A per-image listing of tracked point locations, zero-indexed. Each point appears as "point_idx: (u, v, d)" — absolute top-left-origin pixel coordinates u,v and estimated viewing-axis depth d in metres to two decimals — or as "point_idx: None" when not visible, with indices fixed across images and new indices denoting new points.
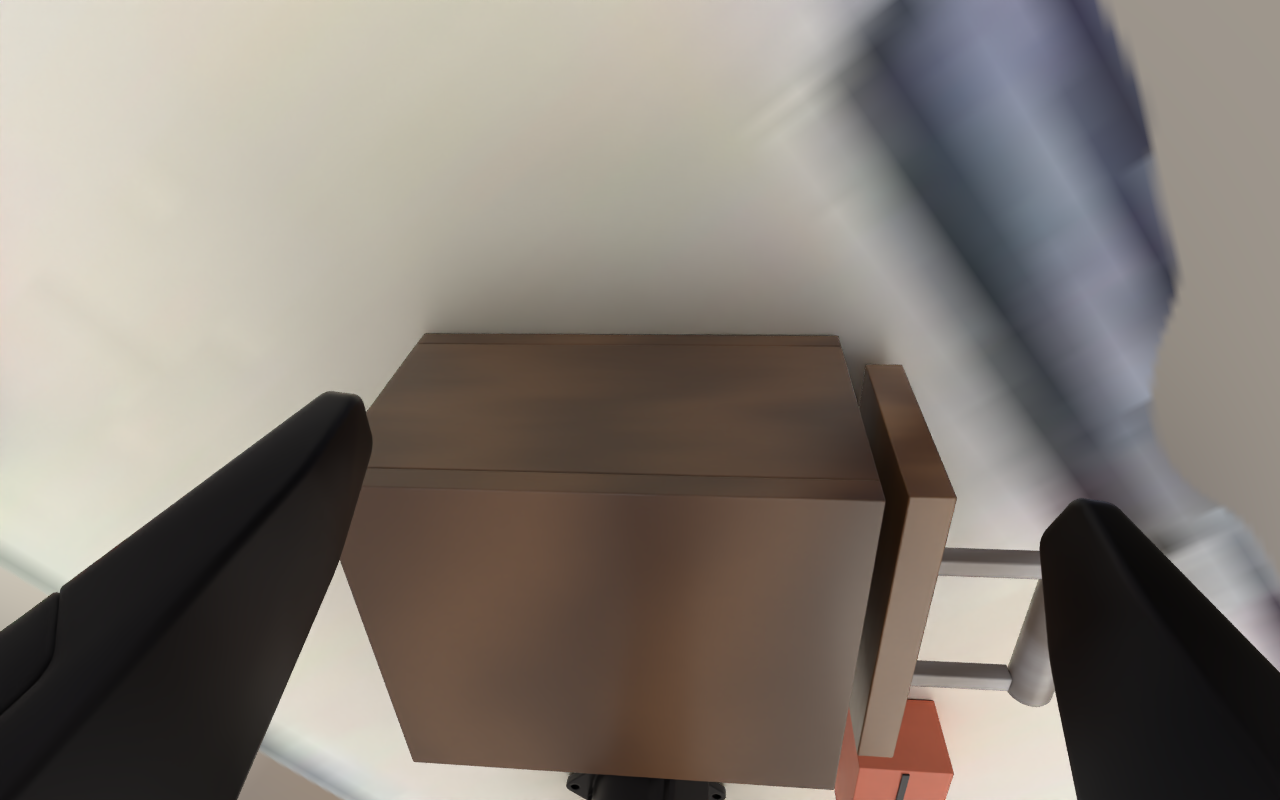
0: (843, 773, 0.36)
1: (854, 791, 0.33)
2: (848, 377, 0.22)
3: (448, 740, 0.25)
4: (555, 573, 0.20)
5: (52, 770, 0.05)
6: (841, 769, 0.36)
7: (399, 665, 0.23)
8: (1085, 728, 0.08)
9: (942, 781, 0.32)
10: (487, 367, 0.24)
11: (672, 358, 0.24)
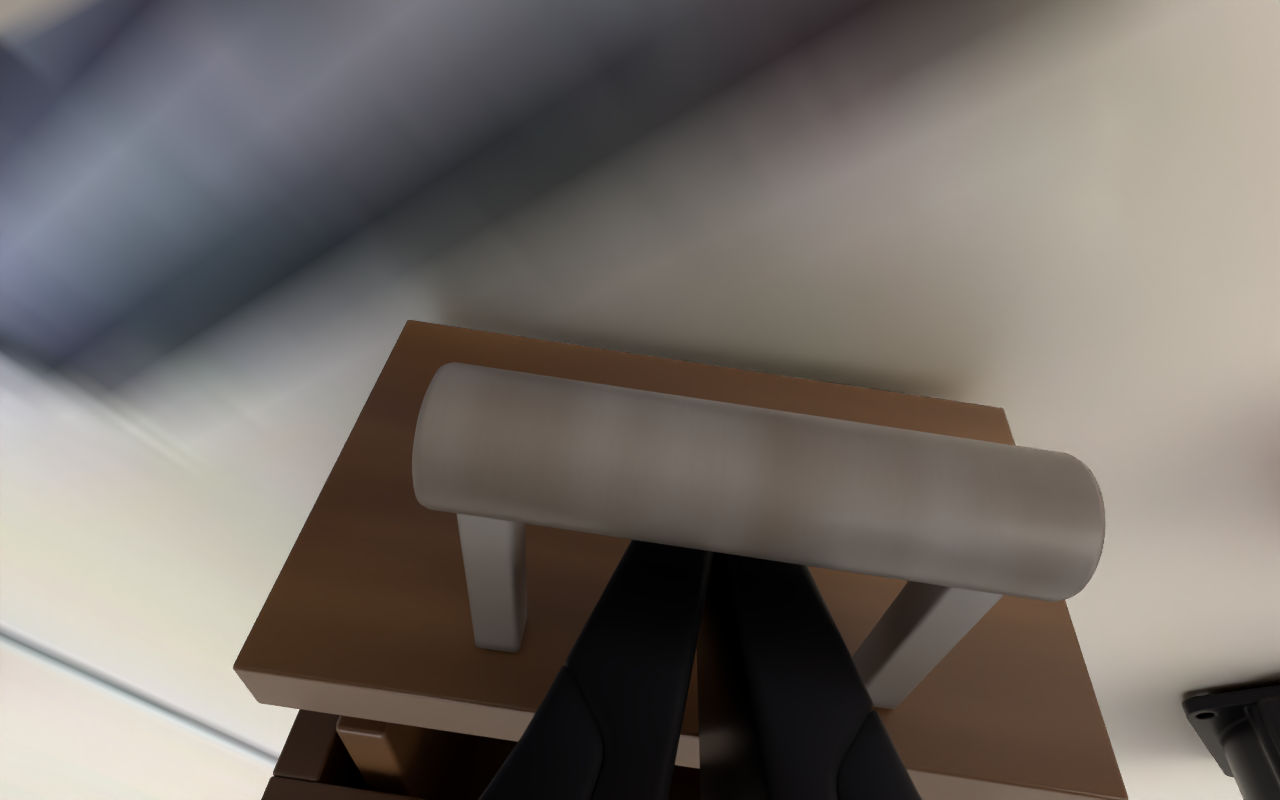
0: None
1: None
2: None
3: None
4: None
5: None
6: None
7: None
8: (703, 673, 0.08)
9: None
10: None
11: None
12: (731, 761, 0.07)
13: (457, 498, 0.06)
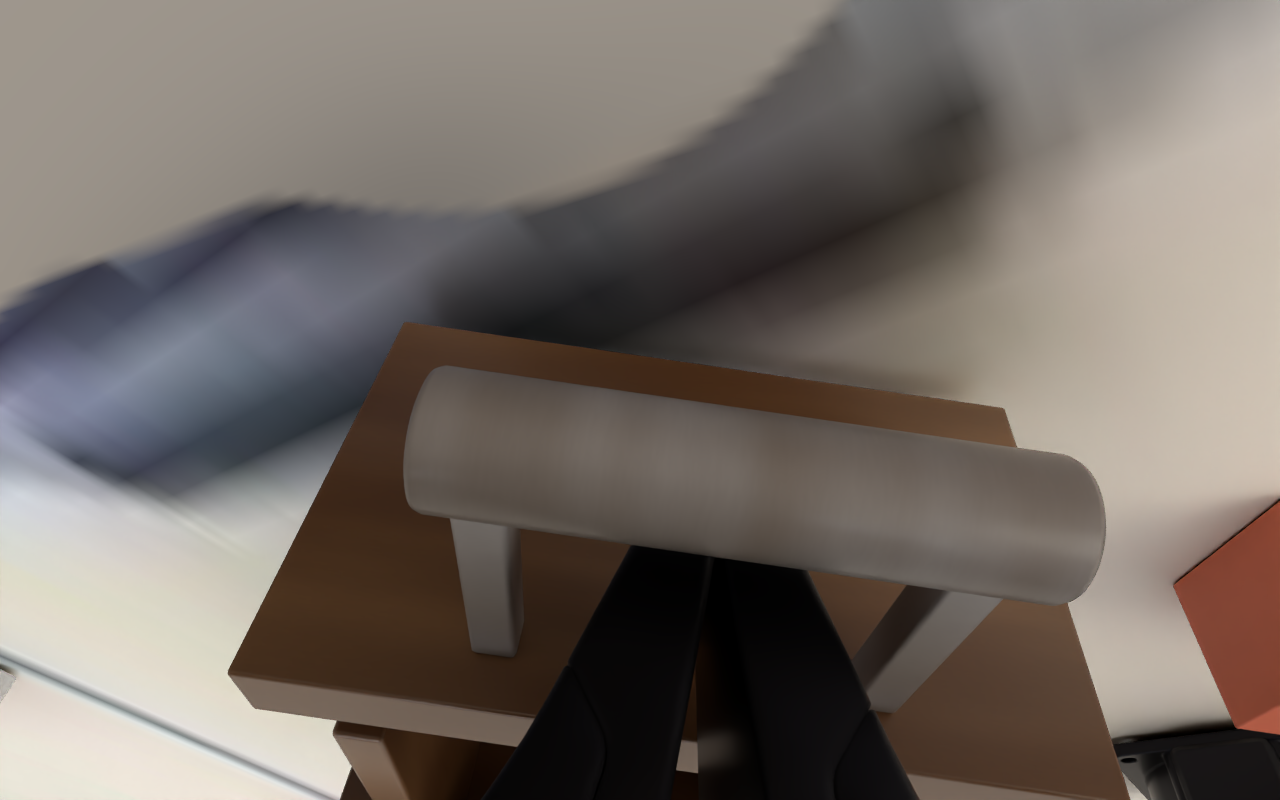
0: None
1: None
2: None
3: None
4: None
5: None
6: None
7: None
8: (701, 673, 0.08)
9: None
10: None
11: None
12: (729, 761, 0.07)
13: (449, 503, 0.06)
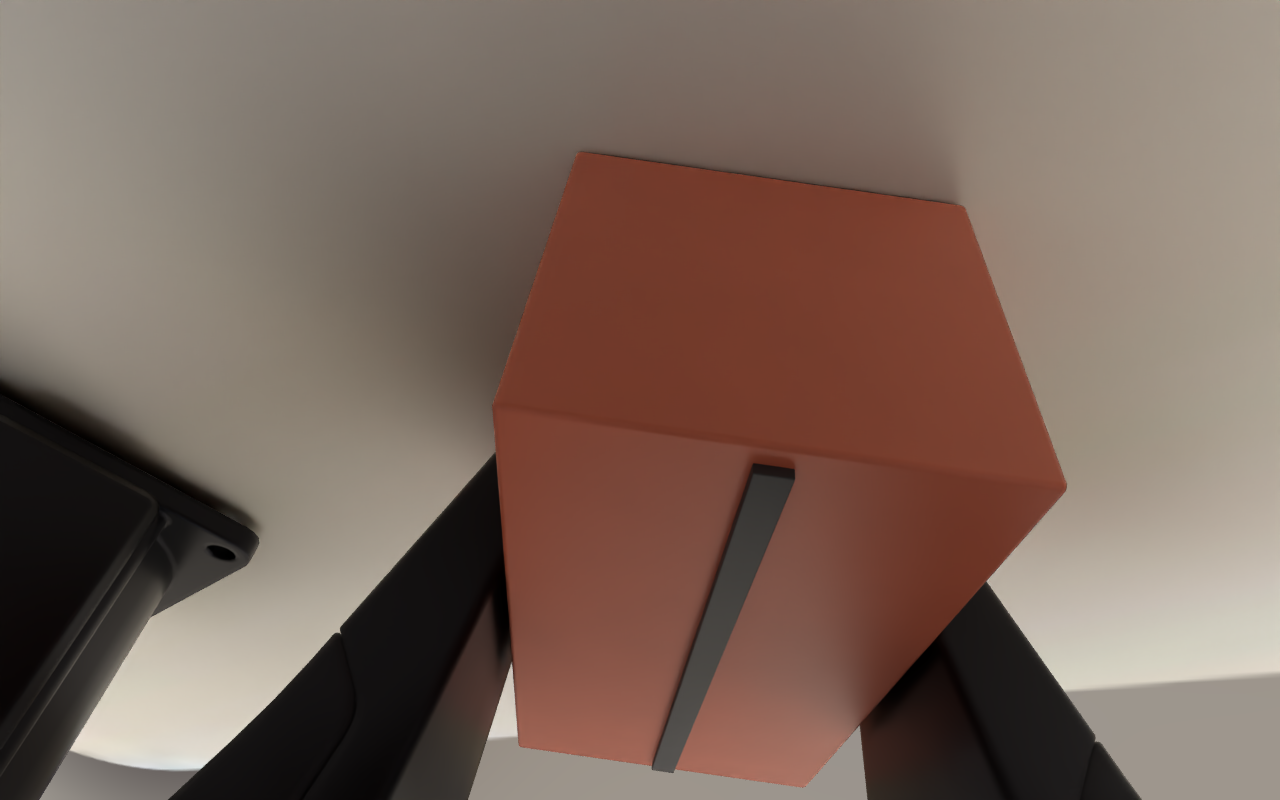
0: None
1: (505, 550, 0.06)
2: None
3: None
4: None
5: None
6: None
7: None
8: None
9: (976, 530, 0.05)
10: None
11: None
12: (936, 790, 0.07)
13: None
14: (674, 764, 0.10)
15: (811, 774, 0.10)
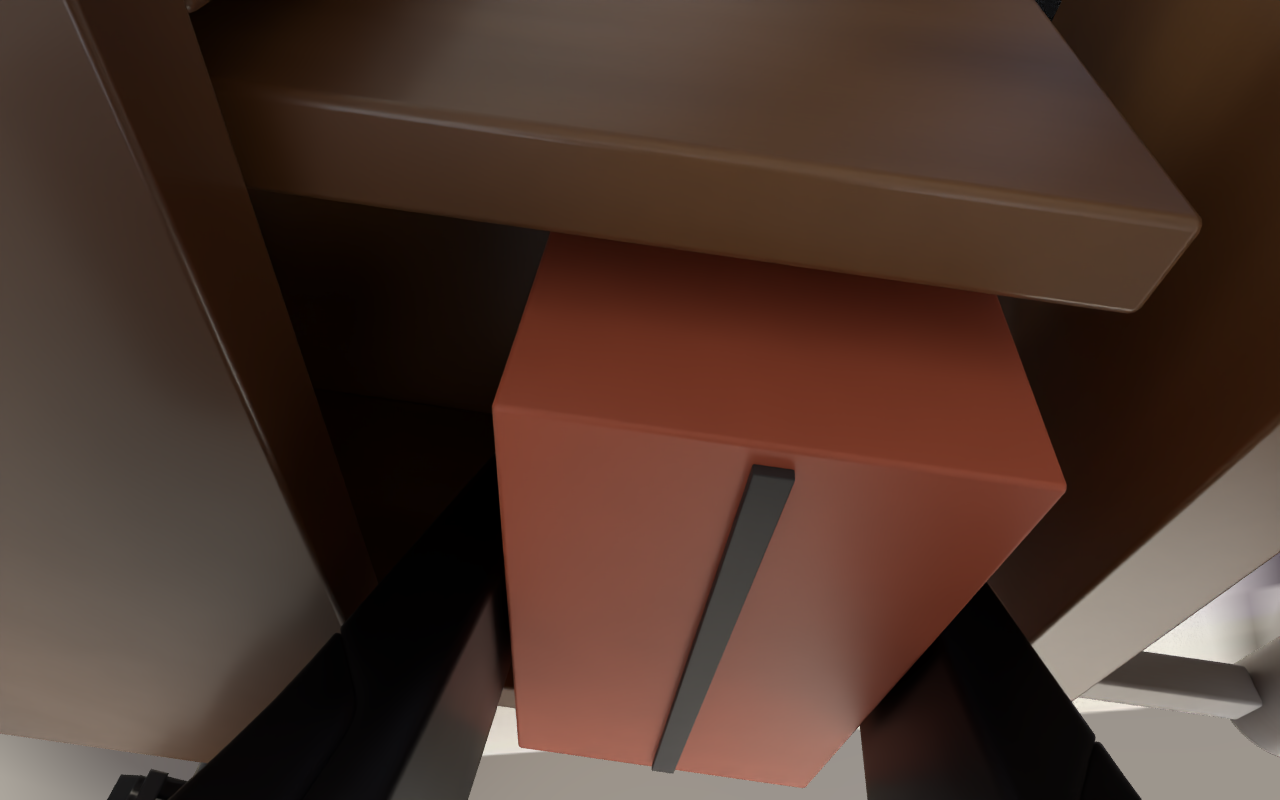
0: None
1: (505, 551, 0.06)
2: None
3: None
4: None
5: None
6: None
7: None
8: None
9: (976, 531, 0.05)
10: None
11: None
12: (936, 790, 0.07)
13: None
14: (674, 765, 0.10)
15: (811, 775, 0.10)
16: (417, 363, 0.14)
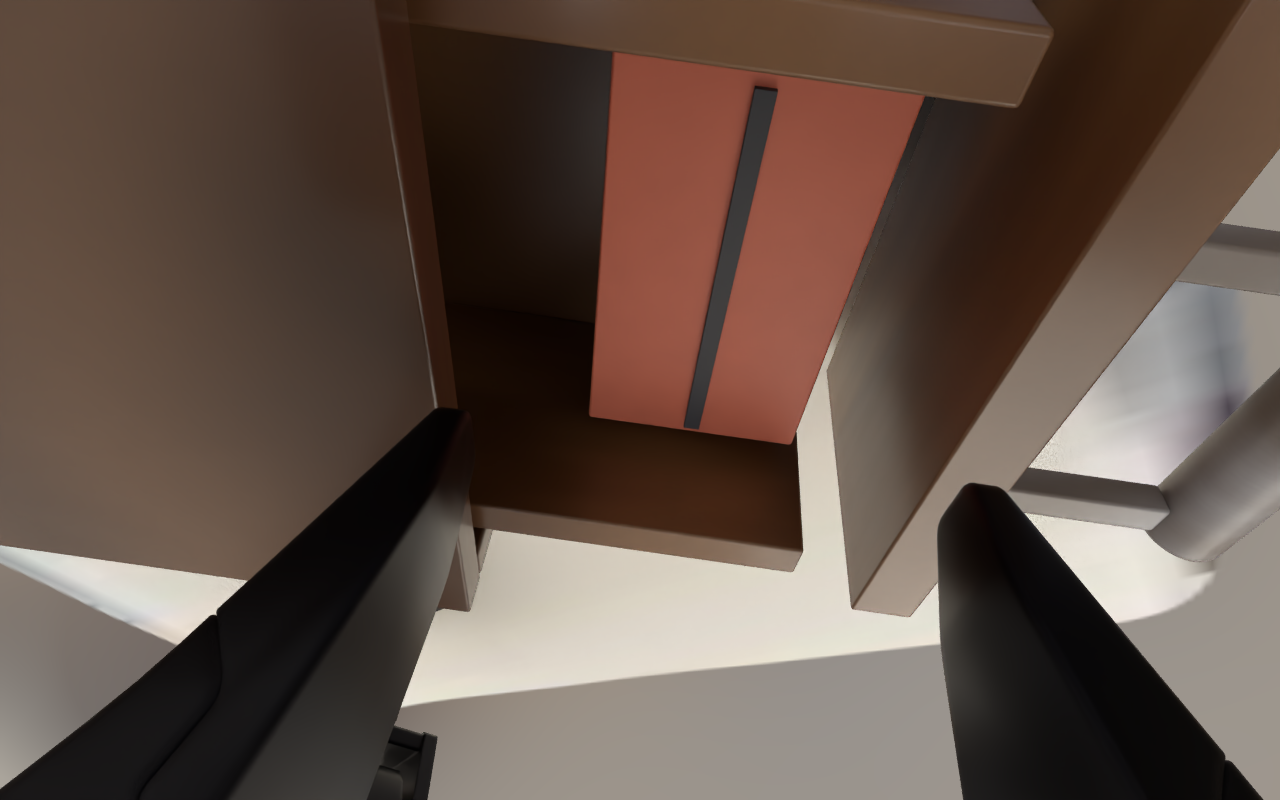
0: None
1: (604, 185, 0.11)
2: None
3: None
4: None
5: (238, 797, 0.05)
6: None
7: None
8: (967, 711, 0.08)
9: (880, 135, 0.10)
10: None
11: None
12: None
13: None
14: (699, 417, 0.14)
15: (795, 424, 0.14)
16: (462, 265, 0.16)
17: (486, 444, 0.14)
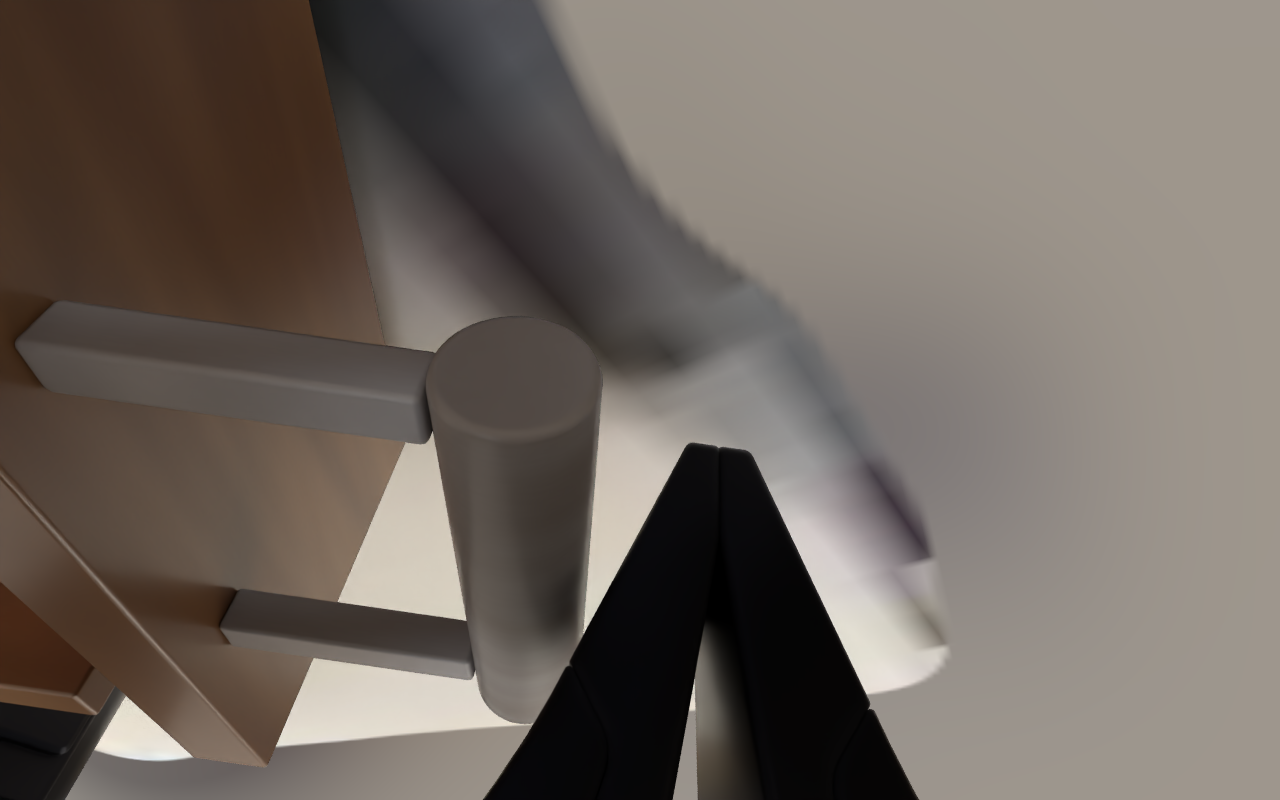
0: None
1: None
2: None
3: None
4: None
5: None
6: None
7: None
8: (700, 673, 0.08)
9: None
10: None
11: None
12: (728, 761, 0.07)
13: (500, 471, 0.06)
14: None
15: None
16: None
17: None
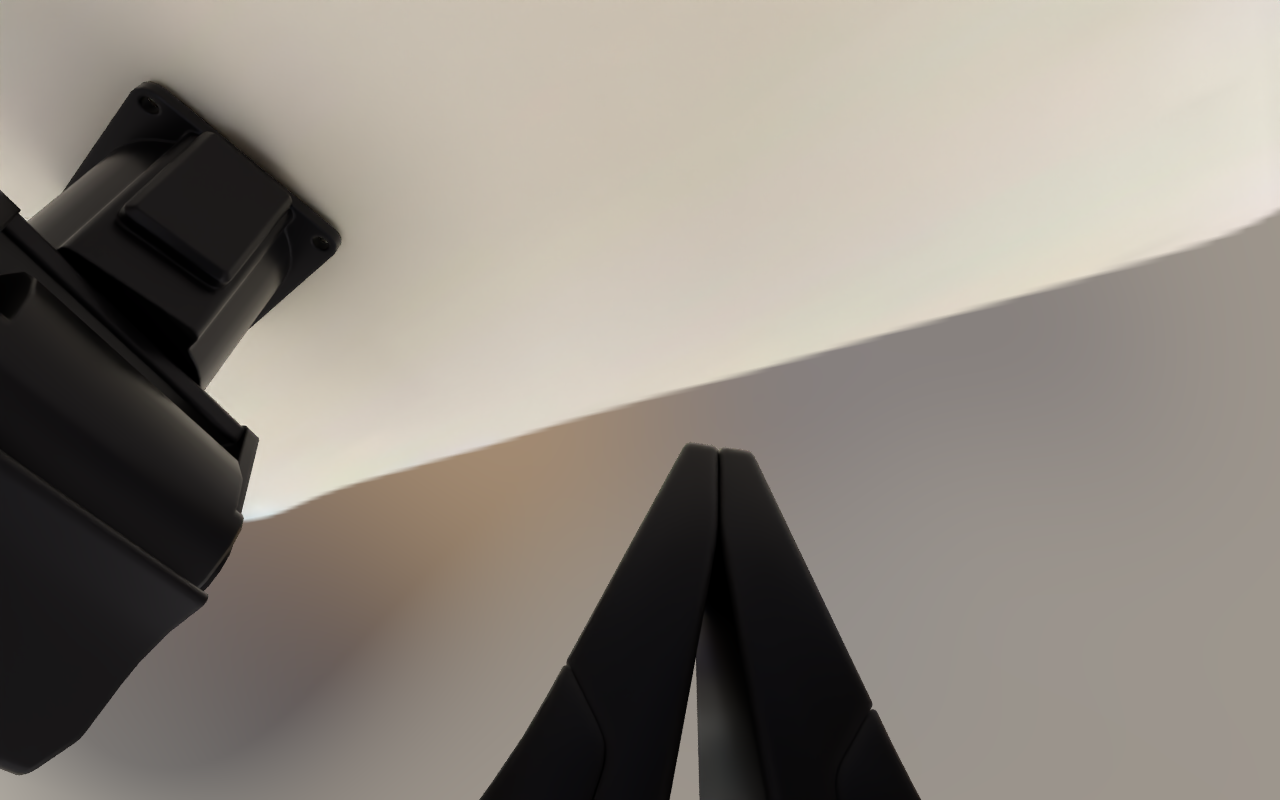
0: None
1: None
2: None
3: None
4: None
5: None
6: None
7: None
8: (702, 673, 0.08)
9: None
10: None
11: None
12: (730, 761, 0.07)
13: None
14: None
15: None
16: None
17: None
